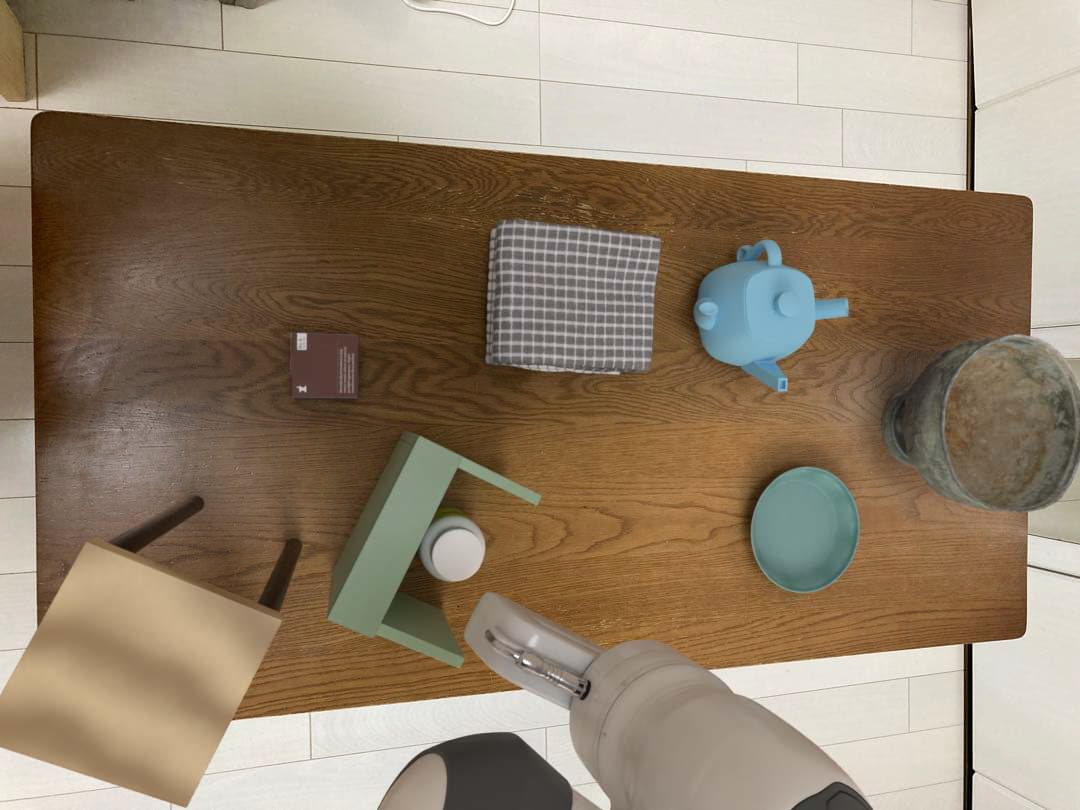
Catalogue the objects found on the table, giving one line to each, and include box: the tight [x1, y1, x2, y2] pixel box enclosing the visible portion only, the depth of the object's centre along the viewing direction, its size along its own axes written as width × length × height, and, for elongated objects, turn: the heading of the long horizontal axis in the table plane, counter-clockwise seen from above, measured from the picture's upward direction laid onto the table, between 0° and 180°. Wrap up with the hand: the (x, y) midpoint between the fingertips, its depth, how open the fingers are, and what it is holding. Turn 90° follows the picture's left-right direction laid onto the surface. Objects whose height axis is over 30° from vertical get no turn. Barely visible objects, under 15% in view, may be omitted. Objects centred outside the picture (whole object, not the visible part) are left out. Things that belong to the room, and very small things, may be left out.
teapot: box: [693, 239, 850, 392], centre depth 78 cm, size 15×14×11 cm
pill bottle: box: [416, 506, 486, 583], centre depth 69 cm, size 6×6×11 cm
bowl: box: [881, 333, 1080, 513], centre depth 83 cm, size 20×19×15 cm
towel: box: [484, 218, 662, 376], centre depth 74 cm, size 15×18×8 cm
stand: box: [0, 537, 285, 809], centre depth 42 cm, size 12×12×2 cm
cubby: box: [326, 430, 543, 669], centre depth 66 cm, size 16×12×16 cm
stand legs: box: [106, 495, 303, 612], centre depth 56 cm, size 12×12×26 cm
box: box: [289, 331, 360, 402], centre depth 68 cm, size 6×6×7 cm
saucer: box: [750, 466, 861, 594], centre depth 84 cm, size 15×15×3 cm
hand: (569, 649), depth 55 cm, fingers open, 8 cm apart
